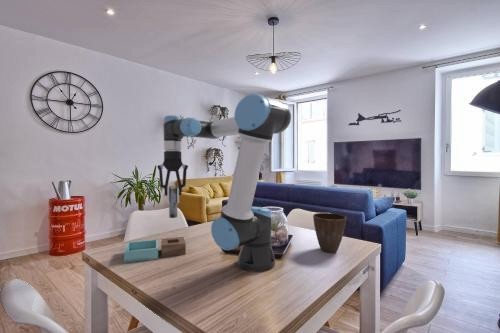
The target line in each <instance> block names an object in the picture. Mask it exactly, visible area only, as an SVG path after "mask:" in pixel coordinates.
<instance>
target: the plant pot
mask: <svg viewBox="0 0 500 333" xmlns="http://www.w3.org/2000/svg"><path fill="white" fill-rule="evenodd" d="M312 217H313V218H312V219H313V225H314V231H315V235H316V239H317V242H318V245H319V246H318V247H319V248H320V250H321V251H322V252H325V253H330V252H333V253H336V251H337V252H338V250H339V247H340V245H341V242H342V240H343V236H344V233H345V229H346V222H347V216H346V215H343V214H339V213H333V212H318V213H314V214H313V215H312Z"/></svg>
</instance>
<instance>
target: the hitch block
mask: <svg viewBox="0 0 500 333" xmlns="http://www.w3.org/2000/svg"><path fill="white" fill-rule="evenodd" d="M160 243H161V244H160V247H161V248H160V249H161V258H166V257H175V256H182V255H183V256H184V255H186V248H187V246H186V244H187V243H186V240H185V238H184V236H179V237H178V236H177V237H169V238H167V237H166V238H161V242H160Z"/></svg>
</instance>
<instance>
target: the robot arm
mask: <svg viewBox="0 0 500 333" xmlns="http://www.w3.org/2000/svg"><path fill="white" fill-rule="evenodd" d="M291 121H292V113H291V109H290V108H289V107H288V105H287V104H286V103H284V101H280V100H278V99H274V98H271V97H269V96H266V95H263V94H258V93H250V94H247V95H245V96H244V97H242V98H241V99H240V101H239V102H238V103H237V105H236V107H235V110H234V115H233V116H232V117H228V118H221V119H216V120H212V121H205V120H200V119H198V118H196V117H186V118H183V119H182V117H181V116H178V115H166V116H164V117H163V150H164V151H163V163H161V164H159V165H157V166H156V167H157V169H158V171H159V172H158V173H159V186H160V188H163V189H164V196H165V197H166V199H167V200H166V201H167V204H169V182H170V177H171V176H170V175H171V172H175V175H176V176H175V177H176V182H177V185H178V186H177V204H180V196H182V188H184V187H186V185H187V184H186V183H187V182H186V181H187V170H188V167H189V166H188V165H189V164H188V165H187V164H184V163H183V161H182V138H183V137H185V138H186V137H187V138H188V137H189V138H199V139H200V138H201V139H202V138H203V139H211V140H216V139H219V138H220V137H228V136H237V135H238V136H239V137H240V143H239V148H238V152H237V157H236V163H235V167H234V170H233V171H234V172H233V175H232V181H231V185H230V191H229V193H228V198H227V203H226V204H225V205H223V206H222V208H221V211H220V216H218V217H217V218H215V219H214V220H213V221H212V222H211V226H210V227H211V228H210V232H211V236H212V239H213V241H214V243H215V244H216V246H217V247H219V248H220V249H221V250H224V251H230V250H235V249H238V248H239V247H240V252H239V253H238V257H237V266H238V267H239V268H241V269H242V270H245V271H248V272H265V271H266V272H267V271H269V270H272V269H273V268H275V266H276V258H275V253H274V250H273V248H272V220H273V219H272V210H270V209H269V208H267V207H262V206H253V202H254V197H255V193H256V190H257V189H256V188H257V186H258V180H259V175H260V171H261V168H262V164H263V159H264V155H265V151H266V147H267V145H268V143H270V142H271V141H272V139H273V136H274V134H275V135H276V134H280V133H282V132H285V131H286V129H287V128H289V125H290V124H291ZM164 168H165V170H166V178H165V183H164V178H163V169H164ZM181 168H182V169H183V170H182V181H181V177H180V176H181V175H180V171H179V170H181Z"/></svg>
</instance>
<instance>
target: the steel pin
mask: <svg viewBox="0 0 500 333" xmlns="http://www.w3.org/2000/svg"><path fill="white" fill-rule="evenodd" d="M168 188H169V203H168V212H169V213H168V217H169V218H170V219H175V218H178V203H177V188H178V186H177V185H170V186H169V185H168Z"/></svg>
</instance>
